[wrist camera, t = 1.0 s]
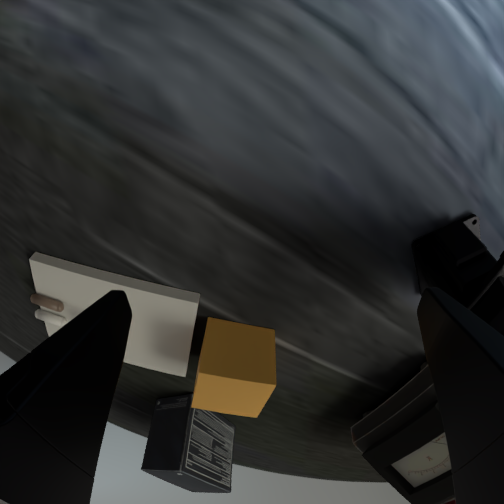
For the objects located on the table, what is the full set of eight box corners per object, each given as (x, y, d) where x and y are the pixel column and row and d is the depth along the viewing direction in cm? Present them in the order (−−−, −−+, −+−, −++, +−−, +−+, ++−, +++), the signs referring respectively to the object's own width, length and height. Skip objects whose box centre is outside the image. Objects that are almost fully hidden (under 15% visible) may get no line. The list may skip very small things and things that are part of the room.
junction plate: (200, 293, 26) (191, 336, 22) (187, 368, 32) (180, 405, 28) (31, 250, 24) (4, 281, 20) (50, 329, 30) (33, 359, 26)
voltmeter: (427, 350, 30) (477, 512, 14) (492, 365, 33) (536, 480, 17) (347, 418, 39) (363, 549, 22) (422, 423, 42) (444, 525, 25)
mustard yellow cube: (274, 329, 28) (276, 385, 23) (257, 367, 31) (256, 417, 26) (208, 316, 27) (198, 372, 22) (199, 356, 31) (191, 407, 26)
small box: (153, 398, 36) (136, 470, 28) (193, 390, 35) (181, 471, 26) (199, 431, 41) (191, 494, 33) (237, 426, 40) (233, 493, 31)
